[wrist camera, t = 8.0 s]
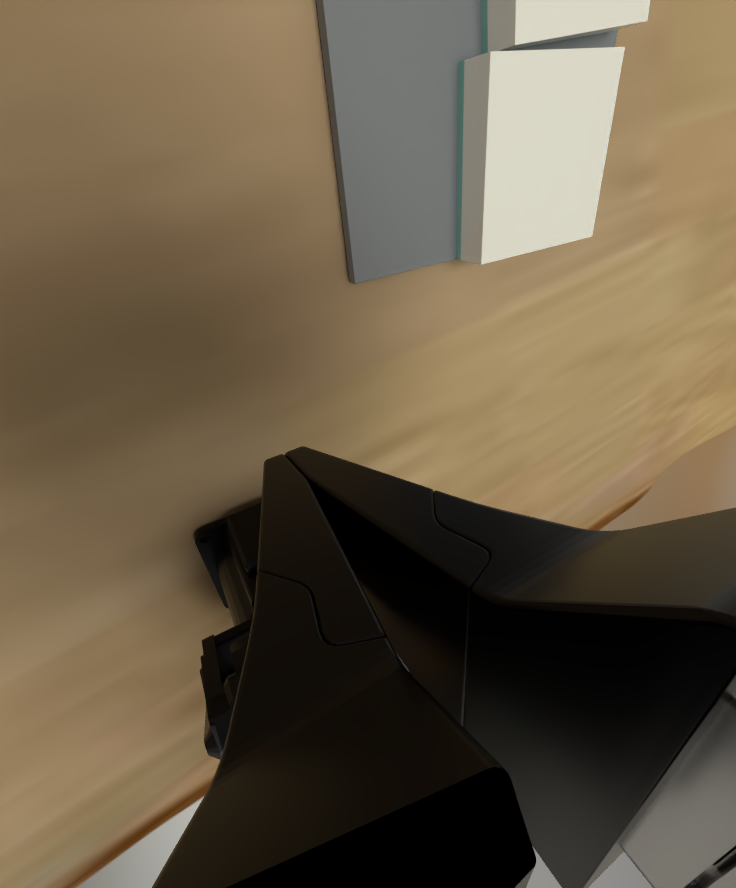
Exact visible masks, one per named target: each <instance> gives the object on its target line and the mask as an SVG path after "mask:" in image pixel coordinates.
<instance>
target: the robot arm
mask: <svg viewBox="0 0 736 888" xmlns="http://www.w3.org/2000/svg"><path fill="white" fill-rule="evenodd" d="M205 535H207V537H206V538H203V539H202V538H201V537H202V536H205ZM194 540H195V543H196V545H197V548H198V550H199V552H200V554H201V556H202V558H203V560H204V563H205V565H206V567H207V569H208V571H209V573H210V576H211V578H212V580H213V582H214V584H215V586H216V588H217V591H218V593H219V595H220V597H221V599H222V601H223V604H224V606H225V607H226V608H229V610H230V613H231V616H232V619H233V622H234V625H235V626H234V627H232V628H230V629H228V630H226V631H224V632H222V633H220V634H218V635H216V636H214V635H211V636H209V637H207V638H205V639H203V640H202V646H203V654H204V655H203V656H201V664H202V668H201V670H200V674H201V679H202V684H203V688H204V693H205V699H206V717H205V733H204V743H205V747H206V750H207V753H208V755H209V756H212V757H215V758H217V759H220V762H219V765H218V768H217V771H216V773H215V776H214V778H213V780H212V782H211V785H210V787H209V789H208V791H207V793H206V794H205V796H204V798H203V800H202V802H201V803H200V805H199V807H198V808H197V810H196V812H195V814H194V815H193V817H192V819H191V821H190V823H189V824H188V826H187V828H186V829H185V831H184V833H183V834H182V836H181V838H180V840H179V841H178V843H177V845H176V847H175V848H174V850H173V852H172V853H171V855H170V857H169V859H168V861H167V862H166V864H165V866H164V867H163V869H162V871H161V873H160V874H159V876H158V878H157V880H156V881H155V883H154V885H153V886H152V888H526V886H527V883H528V881H529V879H530V876H531V874H532V871H533V869H534V867H535V864H536V856H535V853H534V850H533V847H534V849H535V850H536V851H537V853H538V854H539V855H540V857H541V858H542V860H543V861H544V863H545V864H546V865H547V867H548V868H549V870H550V871H551V873H552V874H553V875H554V877H555V878H556V879H557V881H558V882H559V884H560V885H561V887H562V888H588V887H589V886H590V885H591V884H592V883H593V882H594V881H595V880H596V879H597V878H598V877H599V876H600V875H601V874H602V873H603V872H604V871H605V870H606V869H607V868H608V867H609V865H611V864H612V863H613V862H614V861H615V860H616V859H617V858H618V856H620V854H622V853H623V852H625V853H626V854H627V856H628V857H629V858H630V859H631V861H632V862H633V863H634V864H635V866H636V867H637V868H638V869H639V870H640V872H641V873H642V874H643V876H644V877H645V878H646V879H647V881H648V882H649V883H650V884H651V886H652V887H653V888H736V508H732V509H727V510H722V511H717V512H712V513H707V514H702V515H697V516H692V517H687V518H682V519H677V520H672V521H667V522H662V523H657V524H652V525H647V526H642V527H637V528H632V529H626V530H617V531H595V530H586V529H581V528H576V527H571V526H567V525H563V524H559V523H555V522H550V521H546V520H542V519H538V518H534V517H529V516H525V515H521V514H517V513H513V512H509V511H505V510H501V509H497V508H493V507H489V506H485V505H481V504H478V503H474V502H471V501H468V500H465V499H461V498H458V497H455V496H452V495H449V494H446V493H443V492H440V491H434V493H433V490H432V489H430V488H427V487H424V486H421V485H418V484H415V483H412V482H409V481H406V480H403V479H400V478H397V477H394V476H391V475H388V474H385V473H382V472H379V471H376V470H373V469H370V468H367V467H364V466H361V465H358V464H355V463H352V462H349V461H346V460H343V459H340V458H337V457H334V456H331V455H328V454H325V453H322V452H319V451H316V450H313V449H310V448H307V447H304V446H302V447H299V448H296V449H294V450H291V451H288V452H286V454H285V455H283V454H280V455H278V456H275V457H272V458H270V459H267V460H265V462H264V472H263V488H262V503H261V504H259V505H256V506H254V507H251V508H249V509H246V510H244V511H241V512H239V513H237V514H234V515H232V516H229V517H227V518H224V519H222V520H219V521H217V522H214V523H212V524H210V525H207V526H205V527H202V528H200V529H198V530H197V531H196V532H195V533H194ZM532 846H533V847H532Z"/></svg>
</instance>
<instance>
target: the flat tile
mask: <svg viewBox="0 0 736 888" xmlns="http://www.w3.org/2000/svg"><path fill="white" fill-rule="evenodd" d="M649 5H650V0H481V51H482V54H484V53H487V52H490V51H512V50H517V49H522V48H528V47H533V46H538V45H544V44H549V43H555V42H560V41H565V40H571V39H576V38H581V37H587V36H592V35H598V34H603V33H608V32H612V31H615V30H618V29H622V28H625V27H629V26H632V25H636V24H639V23H642V22H646V21H647V19H648V12H649Z"/></svg>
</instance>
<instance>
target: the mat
mask: <svg viewBox="0 0 736 888" xmlns="http://www.w3.org/2000/svg"><path fill="white" fill-rule="evenodd" d="M316 5H317V13H318V21H319V30H320V38H321V47H322V55H323V63H324V72H325V80H326V88H327V97H328V105H329V113H330V122H331V130H332V138H333V147H334V155H335V163H336V172H337V180H338V188H339V197H340V205H341V214H342V222H343V230H344V239H345V247H346V255H347V264H348V272H349V280H350V282H352V283H355V284H356V283H360V282H364V281H368V280H372V279H376V278H381V277H385V276H389V275H393V274H397V273H401V272H405V271H410V270H414V269H418V268H422V267H426V266H430V265H434V264H438V263H443V262H447V261H451V260H455V259H456V215H457V135H458V62H460V61H463V60H466V59H469V58H472V57H475V56H478V55H481V54H482V51H481V0H316ZM617 31H618V30H615V31H612V32H608V33H603V34H598V35H592V36H587V37H581V38H576V39H571V40H565V41H560V42H555V43H549V44H544V45H538V46H533V47H528V48H522V49H517V50H512V51H518V50H547V49H576V48H605V47H615V43H616V37H617Z"/></svg>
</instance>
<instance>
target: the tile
mask: <svg viewBox="0 0 736 888" xmlns="http://www.w3.org/2000/svg"><path fill="white" fill-rule="evenodd" d="M624 49H625V47H605V48H576V49H547V50H518V51H490V52H487V53H484V54H481V55H478V56H475V57H472V58H469V59H466V60H463V61H460V62H458V135H457V215H456V259H457V260H462V261H467V262H471V263H476V264H485V263H489V262H493V261H497V260H501V259H505V258H509V257H513V256H517V255H521V254H525V253H529V252H533V251H537V250H540V249H544V248H548V247H552V246H556V245H560V244H564V243H568V242H572V241H576V240H580V239H584V238H588V237H592V234H593V228H594V222H595V217H596V211H597V205H598V199H599V193H600V188H601V182H602V176H603V170H604V165H605V159H606V153H607V147H608V142H609V136H610V130H611V124H612V118H613V113H614V107H615V101H616V95H617V90H618V84H619V78H620V72H621V66H622V61H623V55H624Z"/></svg>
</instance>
